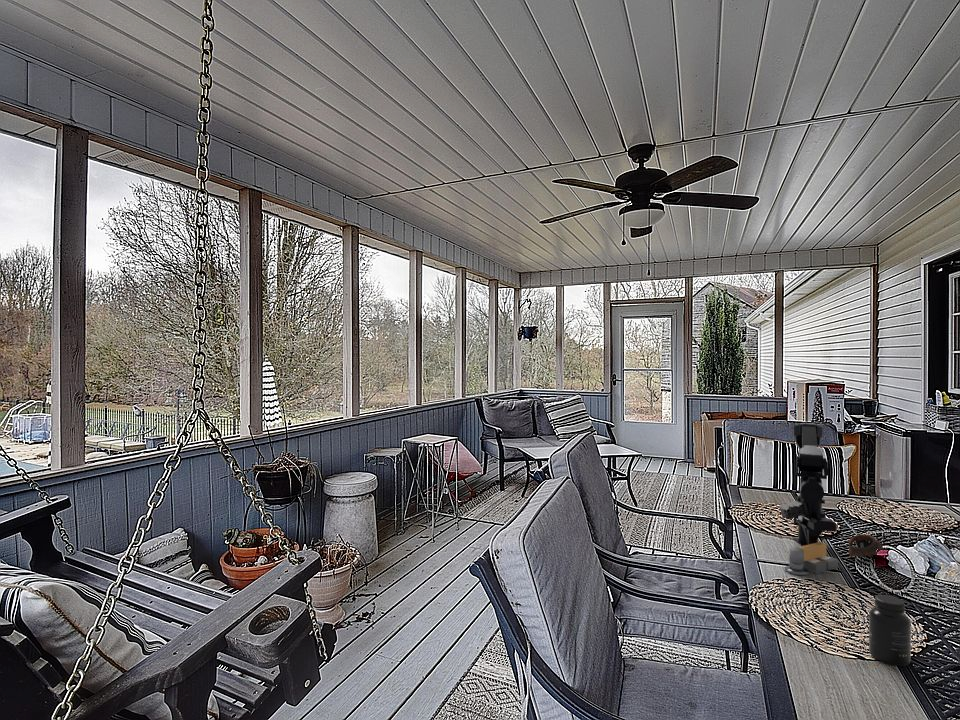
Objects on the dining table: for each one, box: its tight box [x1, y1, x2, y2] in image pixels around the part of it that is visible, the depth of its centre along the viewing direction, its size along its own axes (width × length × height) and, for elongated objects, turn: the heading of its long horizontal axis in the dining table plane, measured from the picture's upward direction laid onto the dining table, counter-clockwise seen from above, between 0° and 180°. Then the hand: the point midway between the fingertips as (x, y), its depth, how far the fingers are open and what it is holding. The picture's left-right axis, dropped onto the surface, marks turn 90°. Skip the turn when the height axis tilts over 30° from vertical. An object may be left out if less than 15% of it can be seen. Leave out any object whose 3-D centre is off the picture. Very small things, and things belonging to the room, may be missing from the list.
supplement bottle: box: [868, 594, 912, 667], centre depth 111 cm, size 7×7×12 cm
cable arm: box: [788, 541, 827, 564], centre depth 159 cm, size 15×4×4 cm, turn 118°
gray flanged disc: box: [784, 561, 810, 577], centre depth 156 cm, size 6×6×3 cm
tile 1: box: [804, 559, 828, 574], centre depth 159 cm, size 7×5×3 cm
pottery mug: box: [848, 533, 884, 559], centre depth 167 cm, size 12×9×8 cm
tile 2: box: [815, 555, 839, 571], centre depth 162 cm, size 7×5×3 cm
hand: (810, 546), depth 165 cm, fingers closed
